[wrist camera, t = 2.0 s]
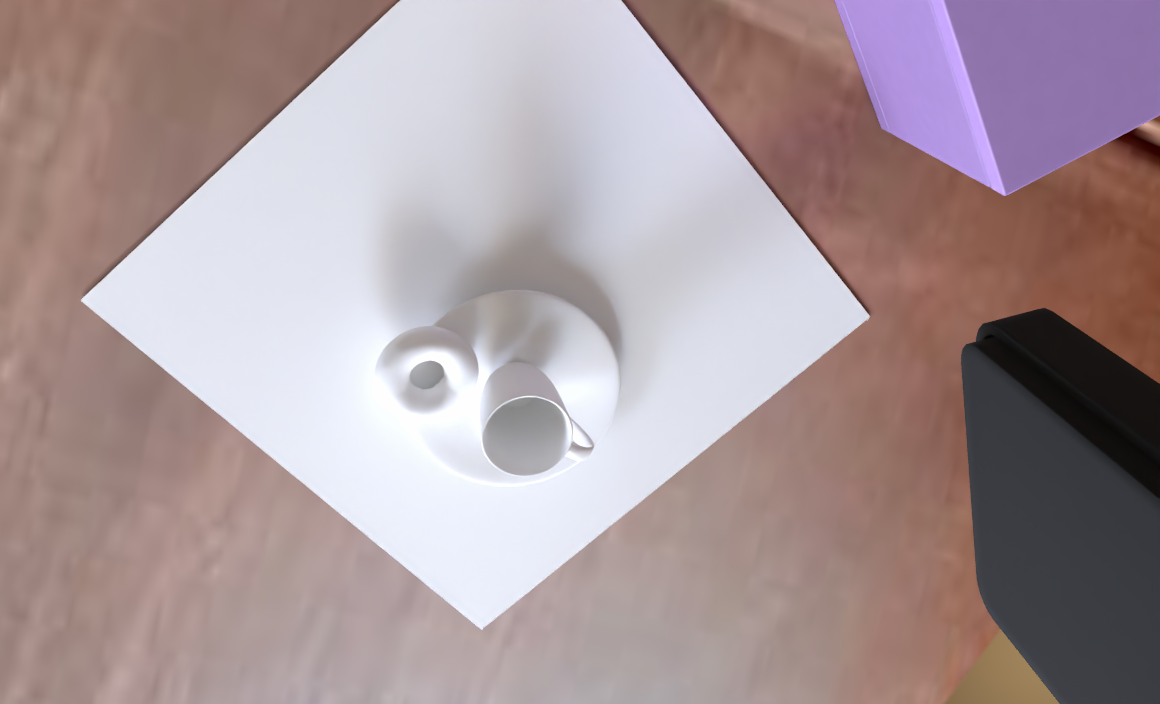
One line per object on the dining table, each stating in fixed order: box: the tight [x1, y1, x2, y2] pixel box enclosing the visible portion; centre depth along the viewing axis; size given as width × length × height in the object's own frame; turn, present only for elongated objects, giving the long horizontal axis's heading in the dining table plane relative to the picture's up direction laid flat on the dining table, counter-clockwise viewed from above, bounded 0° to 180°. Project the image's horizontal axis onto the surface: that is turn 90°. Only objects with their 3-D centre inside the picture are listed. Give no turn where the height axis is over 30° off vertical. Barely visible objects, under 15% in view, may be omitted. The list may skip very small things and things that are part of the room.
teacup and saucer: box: [373, 289, 622, 487], centre depth 38 cm, size 9×8×4 cm
